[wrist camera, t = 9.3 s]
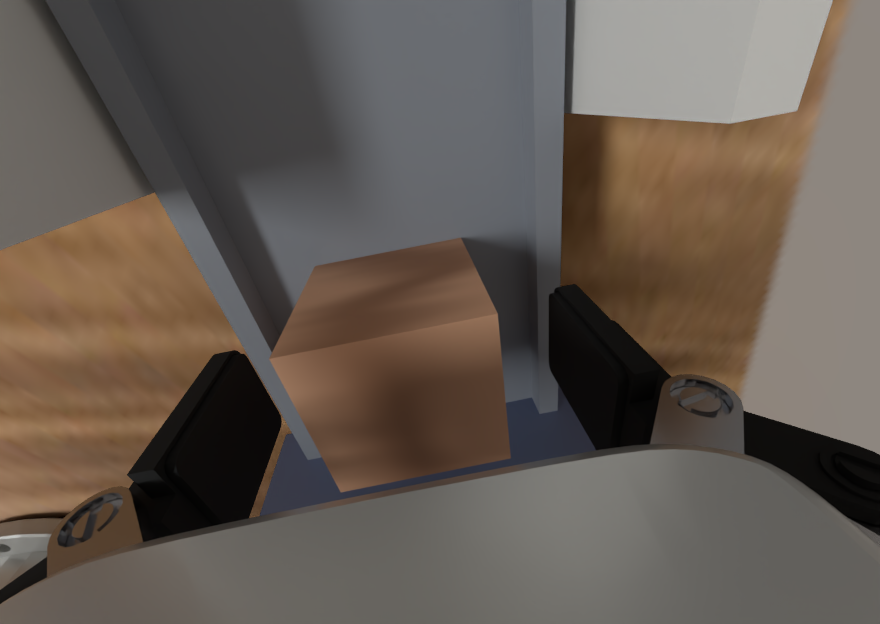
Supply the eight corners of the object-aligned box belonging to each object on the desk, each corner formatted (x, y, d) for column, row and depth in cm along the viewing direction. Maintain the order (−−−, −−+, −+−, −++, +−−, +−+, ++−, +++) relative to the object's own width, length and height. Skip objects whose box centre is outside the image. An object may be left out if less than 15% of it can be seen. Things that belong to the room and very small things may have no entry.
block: (461, 237, 12) (497, 313, 8) (476, 353, 14) (510, 458, 10) (314, 266, 12) (269, 359, 8) (357, 377, 14) (340, 492, 10)
